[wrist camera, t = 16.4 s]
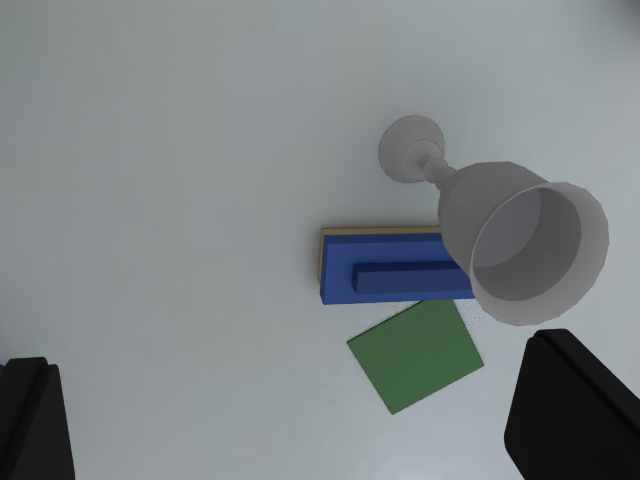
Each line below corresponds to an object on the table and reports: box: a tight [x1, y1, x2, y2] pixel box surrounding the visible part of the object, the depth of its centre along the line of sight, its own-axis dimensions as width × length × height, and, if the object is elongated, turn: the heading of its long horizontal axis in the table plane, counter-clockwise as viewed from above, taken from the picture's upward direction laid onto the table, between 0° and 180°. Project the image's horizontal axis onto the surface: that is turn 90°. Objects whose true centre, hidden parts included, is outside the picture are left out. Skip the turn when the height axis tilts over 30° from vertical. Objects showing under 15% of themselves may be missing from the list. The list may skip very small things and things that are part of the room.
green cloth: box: [347, 299, 484, 415], centre depth 50 cm, size 10×10×1 cm
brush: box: [318, 227, 476, 305], centre depth 43 cm, size 13×5×5 cm, turn 87°
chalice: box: [379, 116, 609, 326], centre depth 34 cm, size 7×7×18 cm
